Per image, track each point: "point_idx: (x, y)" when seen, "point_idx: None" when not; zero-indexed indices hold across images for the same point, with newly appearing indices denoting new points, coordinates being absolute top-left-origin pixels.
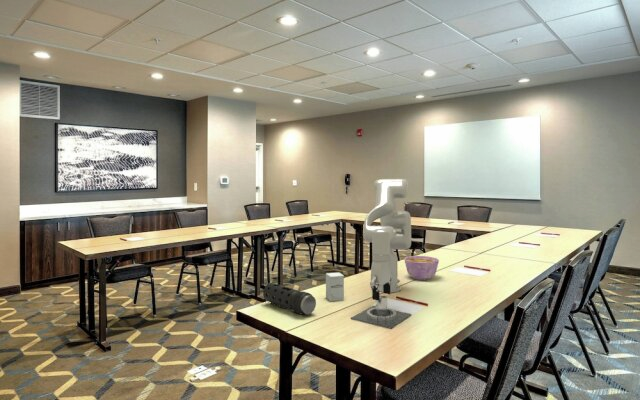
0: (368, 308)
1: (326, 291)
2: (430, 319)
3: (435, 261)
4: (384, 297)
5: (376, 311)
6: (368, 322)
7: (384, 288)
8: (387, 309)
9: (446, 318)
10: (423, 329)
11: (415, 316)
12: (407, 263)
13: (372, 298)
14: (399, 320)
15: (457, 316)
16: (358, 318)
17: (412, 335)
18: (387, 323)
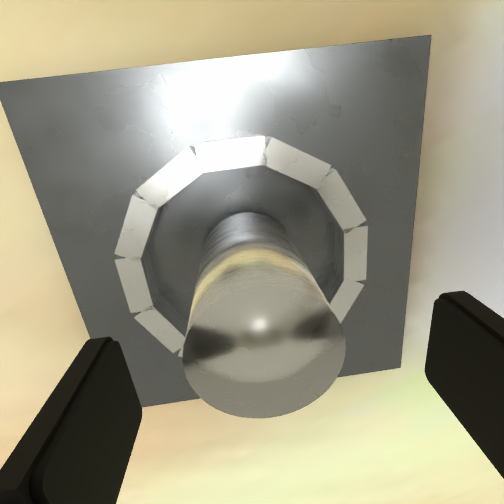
0: (331, 48)
1: None
2: (389, 444)
3: None
4: (287, 384)
5: (202, 256)
6: (66, 265)
7: (492, 366)
8: (344, 260)
9: (442, 474)
10: (243, 484)
11: (391, 382)
12: None
13: (86, 345)
14: None
15: (492, 486)
16: (46, 157)
17: (141, 492)
18: (153, 365)
